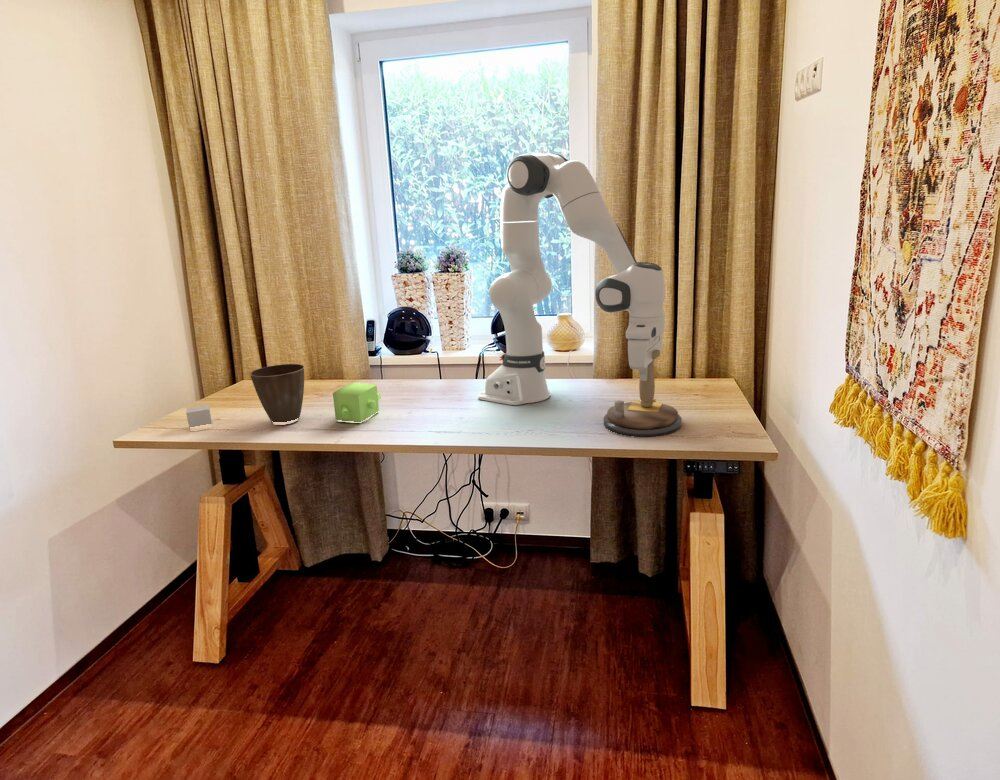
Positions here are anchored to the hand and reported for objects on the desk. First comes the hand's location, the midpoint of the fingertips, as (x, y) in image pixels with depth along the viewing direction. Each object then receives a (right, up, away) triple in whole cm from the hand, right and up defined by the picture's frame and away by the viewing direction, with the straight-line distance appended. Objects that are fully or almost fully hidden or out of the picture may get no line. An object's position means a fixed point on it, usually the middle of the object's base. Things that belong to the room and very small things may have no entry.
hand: (646, 377), depth 164 cm
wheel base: (-1, -12, -1) cm, 12 cm away
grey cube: (-127, -15, +20) cm, 130 cm away
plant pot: (-102, -13, +20) cm, 105 cm away
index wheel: (-1, -10, -1) cm, 11 cm away
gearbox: (-80, -12, +18) cm, 83 cm away
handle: (+1, -8, +2) cm, 8 cm away
